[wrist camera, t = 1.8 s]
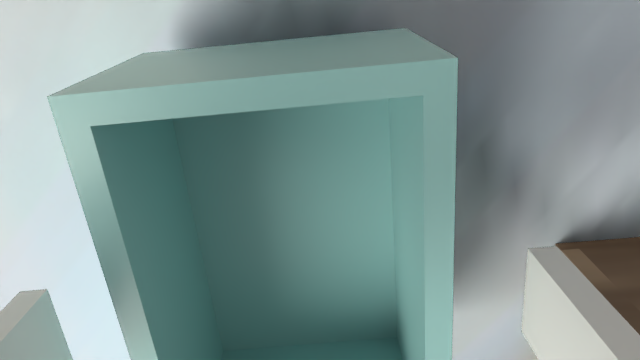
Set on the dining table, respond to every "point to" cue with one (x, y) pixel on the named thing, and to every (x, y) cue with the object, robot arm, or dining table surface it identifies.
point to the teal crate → (273, 197)
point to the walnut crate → (611, 272)
